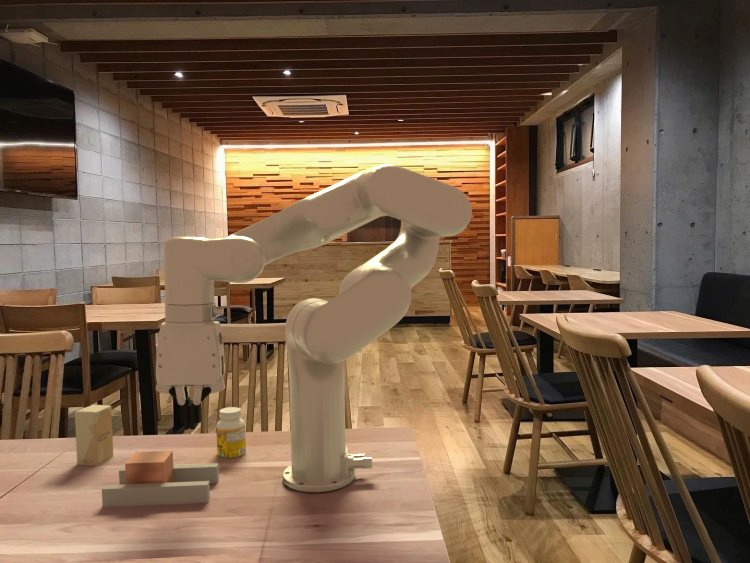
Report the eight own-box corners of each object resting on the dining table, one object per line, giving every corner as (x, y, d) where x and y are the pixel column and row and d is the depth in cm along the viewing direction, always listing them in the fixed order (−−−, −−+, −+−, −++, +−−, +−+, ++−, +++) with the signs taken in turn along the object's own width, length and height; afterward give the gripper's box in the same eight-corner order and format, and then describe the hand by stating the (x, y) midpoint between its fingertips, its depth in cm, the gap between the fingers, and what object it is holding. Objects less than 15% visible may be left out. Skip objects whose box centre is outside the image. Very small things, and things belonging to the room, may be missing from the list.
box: (96, 472, 108) (93, 412, 107) (76, 470, 109) (73, 411, 108) (115, 461, 113) (112, 404, 112) (95, 460, 114) (92, 403, 113)
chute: (220, 482, 103) (220, 459, 102) (206, 514, 91) (205, 489, 91) (78, 488, 101) (77, 465, 101) (44, 521, 89) (42, 496, 89)
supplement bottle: (248, 461, 112) (246, 411, 112) (219, 466, 110) (217, 415, 109) (243, 452, 117) (241, 404, 117) (215, 456, 115) (213, 408, 114)
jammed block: (174, 485, 99) (172, 450, 98) (165, 498, 94) (164, 462, 93) (137, 487, 98) (135, 452, 98) (126, 500, 93) (125, 463, 93)
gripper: (241, 311, 99) (241, 419, 100) (149, 311, 98) (151, 420, 99) (233, 317, 91) (234, 434, 92) (134, 317, 90) (136, 435, 91)
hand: (191, 427), depth 96 cm, fingers closed
